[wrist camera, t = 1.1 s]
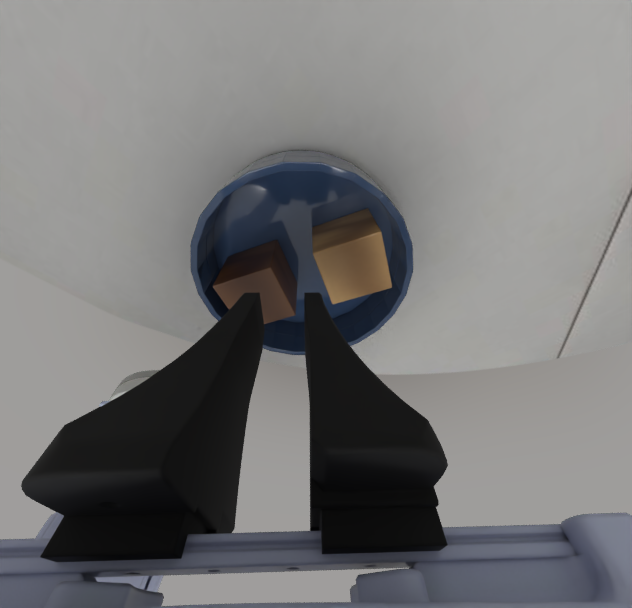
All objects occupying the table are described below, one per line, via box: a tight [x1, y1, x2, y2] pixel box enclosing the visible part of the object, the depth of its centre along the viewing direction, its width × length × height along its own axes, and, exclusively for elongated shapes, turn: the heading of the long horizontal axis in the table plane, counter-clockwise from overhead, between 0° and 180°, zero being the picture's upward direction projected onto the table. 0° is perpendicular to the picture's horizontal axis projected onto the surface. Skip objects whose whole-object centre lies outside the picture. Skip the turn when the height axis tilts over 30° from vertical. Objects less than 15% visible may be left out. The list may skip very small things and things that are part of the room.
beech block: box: [312, 208, 392, 304], centre depth 17 cm, size 4×4×4 cm
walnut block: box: [213, 240, 297, 324], centre depth 19 cm, size 4×4×4 cm
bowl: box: [191, 150, 413, 355], centre depth 18 cm, size 14×14×4 cm
